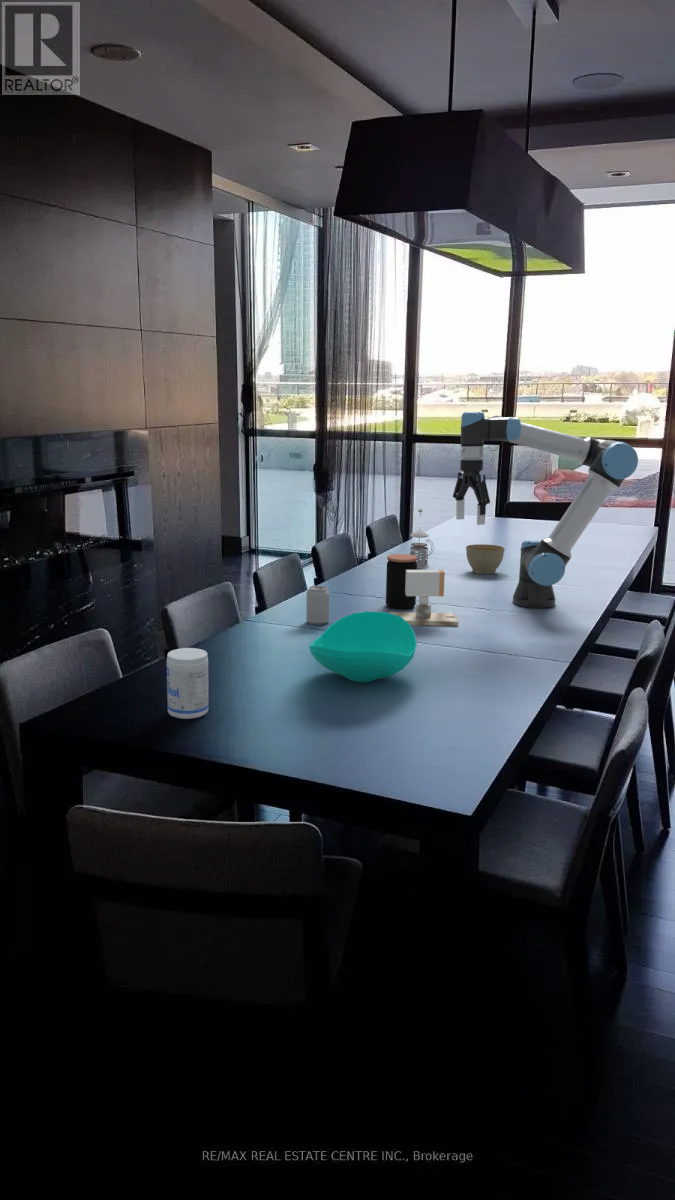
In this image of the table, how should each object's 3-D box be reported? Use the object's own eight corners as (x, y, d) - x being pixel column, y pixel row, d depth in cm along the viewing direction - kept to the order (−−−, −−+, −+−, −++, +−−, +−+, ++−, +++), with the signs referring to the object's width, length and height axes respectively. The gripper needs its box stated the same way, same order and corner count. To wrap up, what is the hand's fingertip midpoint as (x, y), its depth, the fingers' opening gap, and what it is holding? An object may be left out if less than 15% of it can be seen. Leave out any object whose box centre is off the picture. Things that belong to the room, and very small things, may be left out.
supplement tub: (159, 713, 203) (157, 653, 199) (190, 702, 210) (189, 644, 206) (186, 723, 197) (184, 662, 193) (217, 712, 204) (216, 652, 200)
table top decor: (399, 708, 208) (401, 656, 204) (290, 697, 214) (290, 646, 211) (425, 660, 245) (427, 615, 242) (331, 651, 252) (332, 607, 248)
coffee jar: (413, 611, 299) (415, 560, 295) (383, 609, 301) (384, 558, 297) (417, 603, 310) (419, 554, 305) (387, 602, 312) (389, 553, 307)
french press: (414, 563, 383) (416, 506, 377) (437, 566, 376) (439, 509, 370) (402, 566, 375) (404, 509, 369) (426, 569, 368) (428, 511, 362)
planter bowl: (508, 571, 368) (510, 546, 365) (494, 578, 354) (495, 552, 352) (474, 567, 376) (475, 542, 373) (458, 573, 363) (459, 547, 360)
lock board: (453, 617, 292) (454, 601, 291) (458, 625, 281) (459, 609, 280) (388, 616, 292) (389, 600, 291) (391, 625, 281) (391, 608, 280)
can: (332, 621, 285) (333, 586, 282) (323, 626, 278) (323, 590, 275) (312, 618, 288) (312, 583, 285) (302, 623, 281) (302, 588, 278)
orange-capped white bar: (404, 602, 287) (405, 569, 284) (441, 602, 288) (442, 569, 285) (406, 605, 283) (407, 572, 280) (443, 605, 284) (444, 572, 281)
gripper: (443, 456, 298) (442, 517, 303) (481, 461, 276) (480, 527, 281) (462, 456, 301) (461, 516, 306) (501, 460, 278) (499, 526, 283)
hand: (470, 521), depth 293 cm, fingers open, 13 cm apart
